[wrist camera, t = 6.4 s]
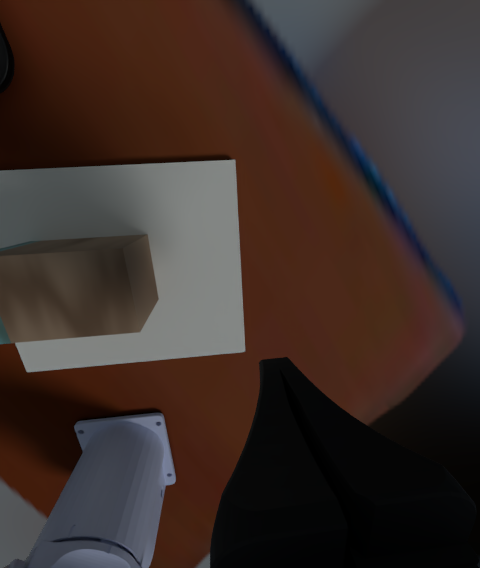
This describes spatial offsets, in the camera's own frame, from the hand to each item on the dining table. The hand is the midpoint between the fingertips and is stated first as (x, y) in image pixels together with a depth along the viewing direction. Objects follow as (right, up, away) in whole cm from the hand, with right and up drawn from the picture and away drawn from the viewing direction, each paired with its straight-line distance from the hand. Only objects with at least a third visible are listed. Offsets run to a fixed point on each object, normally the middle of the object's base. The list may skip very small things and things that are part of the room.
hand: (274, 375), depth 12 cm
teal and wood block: (-8, +5, +4) cm, 10 cm away
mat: (-11, +5, +7) cm, 14 cm away
